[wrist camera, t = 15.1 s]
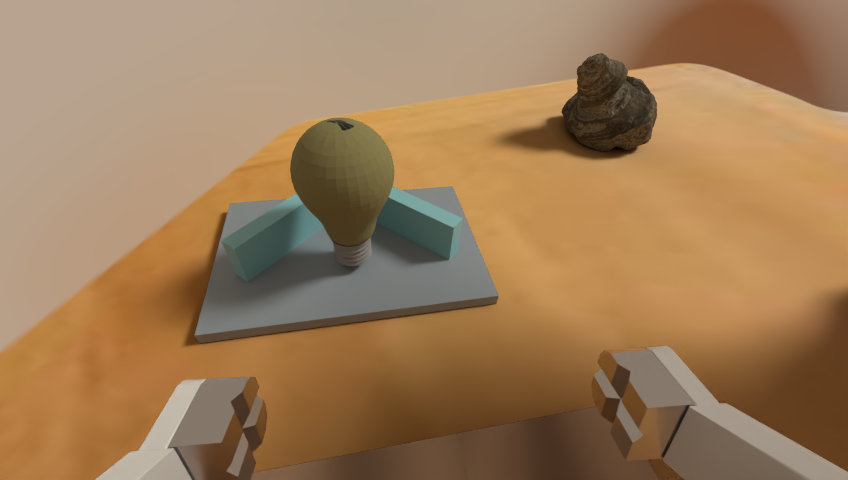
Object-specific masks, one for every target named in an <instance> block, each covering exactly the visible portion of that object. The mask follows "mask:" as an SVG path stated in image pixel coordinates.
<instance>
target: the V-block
mask: <svg viewBox="0 0 848 480" xmlns="http://www.w3.org/2000/svg"><path fill="white" fill-rule="evenodd" d="M371 249H372V254H371V257H370V258H369V260H368V261H367V262H365V263H363V264H361V265H358V266H345V265H343V264H341V263H339V262H338V261H337V259H336V257H335V253H334V246H333V242H332V240H331V239H330V237H329V236H328V234H327V232H326V230H325V228H324V226H323V225H322V223H321V222H320V221H319V220H318V219H317V218H316V217H315V216H314V215H313V214H312V213H311V212H310V211H309V210H308V209H307V208H306V207H305V205H304V204H303V203H302V201H301V200H300V198H299V196H298V195H297V193H296V194H295V195H293V196H292V197H290V198H288V199H282V200H269V201H256V202H243V203H230V205H229V209H228V213H227V217H226V220H225V224H224V228H223V231H222V235H221V239H220V242H219V246H218V250H217V254H216V257H215V261H214V265H213V268H212V272H211V276H210V279H209V283H208V287H207V291H206V294H205V298H204V302H203V305H202V309H201V313H200V316H199V320H198V324H197V328H196V331H195V335H194V336H195V337H196V339H197V340H198V342H199V343H205V342H213V341H220V340H228V339H235V338H242V337H250V336H257V335H265V334H272V333H280V332H287V331H295V330H302V329H309V328H317V327H324V326H332V325H339V324H347V323H354V322H361V321H369V320H376V319H384V318H391V317H399V316H406V315H414V314H421V313H428V312H436V311H443V310H451V309H458V308H466V307H473V306H480V305H488V304H495V303H497V299H498V293H497V291H496V288H495V286H494V284H493V281H492V279H491V277H490V274H489V272H488V269H487V267H486V265H485V262H484V260H483V258H482V255H481V253H480V250H479V248H478V246H477V243H476V241H475V239H474V236H473V234H472V231H471V229H470V227H469V224H468V222H467V220H466V217H465V215H464V212H463V210H462V208H461V205H460V203H459V200H458V198H457V196H456V193H455V191H454V189H453V186H452V187H439V188H426V189H413V190H399V189H397V188H395V187H393V186H392V190H391V193H390V195H389V197H388V199H387V201H386V203H385V205H384V206H383V208H382V210H381V211H380V213H379V215H378V217H377V221H376V226H375V230H374V232H373V234H372V235H371Z"/></svg>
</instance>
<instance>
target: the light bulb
mask: <svg viewBox="0 0 848 480" xmlns="http://www.w3.org/2000/svg"><path fill="white" fill-rule="evenodd" d="M290 171H291V178H292V183H293V186H294V189H295V191H296V193H297V195H298V196H299V198H300V200H301V201H302V203H303V204H304V205H305V207H306V208H307V209H308V210H309V211H310V212H311V213H312V214H313V215H314V216H315V217H316V218H317V219H318V220H319V221H320V222H321V223H322V225H323V226H324V228H325V230H326V232H327V234H328V236H329V237H330V239H331V240H332V242H333V246H334V253H335V257H336V259H337V261H338V262H339V263H341V264H343V265H345V266H358V265H361V264H363V263H365V262H367V261H368V260H369V258H370V257H371V254H372V249H371V235H372V234H373V232H374V230H375V226H376V221H377V217H378V215H379V213H380V211H381V210H382V208H383V206H384V205H385V203H386V201H387V199H388V197H389V195H390V193H391V190H392V186H393V181H394V165H393V160H392V156H391V153H390V151H389V148H388V147H387V145H386V143H385V142H384V140H383V139H382V138H381V136H380V135H379V134H378V133H376V132H375V131H374V130H373V129H372V128H371V127H369V126H367V125H365V124H364V123H362V122H359V121H356V120H353V119H349V118H331V119H328V120H324V121H321V122H319V123H317V124H316V125H314V126H312V127H311V128H309V129H308V130H307V131H306V132H305V133H304V134H303V135H302V137H301V138H300V139H299V141H298V142H297V144H296V146H295V149H294V151H293V154H292V159H291V168H290Z"/></svg>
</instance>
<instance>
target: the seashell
mask: <svg viewBox="0 0 848 480" xmlns="http://www.w3.org/2000/svg"><path fill="white" fill-rule="evenodd" d="M627 74H628V70H627V69H626V67H625V65H624V64H623V63H621V62H619V61H616V60H612V59H609V58H608V57H607V56H606V55H604V54H602V53H601V54H596V55H594V56H592V57H588V58H587V60H586V61H584V63H583V64H582V65H581V66H579V67H578V69H577V75H578V79H577V85H578V88H577V90H578V92H577V93H576V94H575V95H574V96H573V97H572V98H571V99H569V100H568V101H567V102H566V104H565V105H564V107H563V109H562V114H563V116H564V121H565V124H566V126H567V128H568V130H569V131H570V133H573V134H574V135H575V137H576V138H577V141H578V142H580V143H582V144H583V145H585V146H589V147H591V148H592V149H595V150H598V151H610V150H611V149H612V148H614V147H615V146H616V147H621V148H623V149H624V150H629V149H632V148H635V147H637V146H639V145H642V144H645V143H647V142H648V141H649V139H651V133H652V128H653V126H654V124H655V120H656V117H657V103H656V100H655V97H654V95H652V94H651V93H650V91H649V89H648V88H647V86H646V85H645V84H644V82H643V81H642V80H641V79H637V78H634V77H629V76H627Z"/></svg>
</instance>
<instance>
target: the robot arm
mask: <svg viewBox="0 0 848 480" xmlns="http://www.w3.org/2000/svg"><path fill="white" fill-rule="evenodd" d="M598 364H599V365H600V367H601V369H600V370H599V371H598V372H597V373H596V374H594V376H593V380H592V395H593V399H594V402H595V405H596V407H597V409H598V411H599V413H600V415H601V416H603V417H604V418H605V419H607V420H608V421H609V422H611V423H612V426H611V431H610V433H611V435H612V437H613V439H614V441H615V443H616V444H617V446H618V448H619V450H620V452H621V454H622V455H623V457H624V459H625V461H631V460H648V459H663V460H662V461H663V462H664V463H666V464H667V465H668V466H669V467H670V468H671V469H673V470H674V471H675V472H676V473H677V474H678V475H680V476H681V477H682V478H683V479H684V480H848V472H847V471H845V470H844V469H842V468H840V467H838V466H836V465H835V464H833V463H831V462H829V461H828V460H826V459H824V458H822V457H821V456H819V455H817V454H815V453H813V452H812V451H810V450H808V449H806V448H805V447H803V446H801V445H799V444H798V443H796V442H794V441H792V440H791V439H789V438H787V437H785V436H783V435H782V434H780V433H778V432H776V431H775V430H773V429H771V428H769V427H768V426H766V425H764V424H762V423H761V422H759V421H757V420H755V419H753V418H752V417H750V416H748V415H746V414H745V413H743V412H741V411H739V410H738V409H736V408H734V407H732V406H730V405H729V404H727V403H719V402H718V401H717V400H716V399H715V398H714V396H713V395H712V394H711V393H710V392H709V391H708V390H707V388H706V387H705V386H704V385H703V384H702V383H701V381H700V380H699V379H698V378H697V377H696V376H695V375H694V373H693V372H692V371H691V370H690V369H689V368H688V367H687V365H686V364H685V363H684V362H683V361H682V360H681V359H680V357H679V356H678V355H677V354H676V353H675V352H674V351H673V350H672V349H671V348H669V347H667V346H657V347H645V348H642V347H641V348H629V349H617V350H605V351H603V352H602V353H601V354H600V356H599V359H598ZM258 389H259V385H258V382H257V380H256V378H255V377H232V378H211V379H196V380H184V381H182V382H181V383H180V384H179V385H178V386H177V387H176V388H175V390H174V392H173V393H172V395H171V397H170V398H169V400H168V402H167V403H166V405H165V407H164V408H163V410H162V412H161V413H160V415H159V417H158V418H157V420H156V422H155V423H154V425H153V427H152V429H151V430H150V432H149V434H148V435H147V437H146V439H145V440H144V442H143V444H142V445H141V447H140V449H139V450H138V451H132V452H129V453H128V454H127V455H126V456H124V457H123V458H122V459H121V460H119V461H118V462H117V463H115V464H114V465H113V466H112V467H110V468H109V469H108V470H107V471H105V472H104V473H103V474H102V475H100V476H99V477H98V478H96V479H95V480H251V477H252V474H253V470H254V467H255V464H256V462H255V459H254V457H253V454H252V453H253V452H254V451H255V450H256V449H257V447H258V446H259V445H260V444H261V443H262V441H263V438H264V434H265V431H266V423H267V411H266V405H265V402H264V400H263V399H262V398H260V397H259V396H257V392H258Z"/></svg>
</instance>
